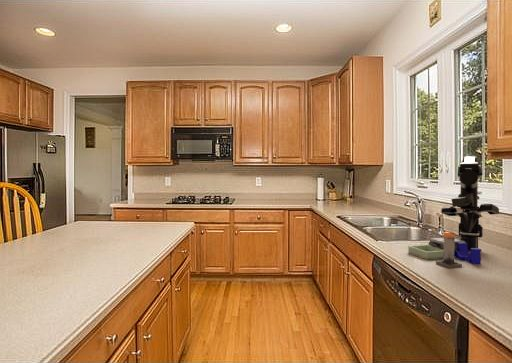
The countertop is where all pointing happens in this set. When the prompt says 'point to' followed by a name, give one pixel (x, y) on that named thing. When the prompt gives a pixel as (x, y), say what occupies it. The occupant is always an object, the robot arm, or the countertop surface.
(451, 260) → the pin
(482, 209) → the robot arm
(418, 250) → the tray
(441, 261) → the pin collar
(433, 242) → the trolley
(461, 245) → the cable clip
